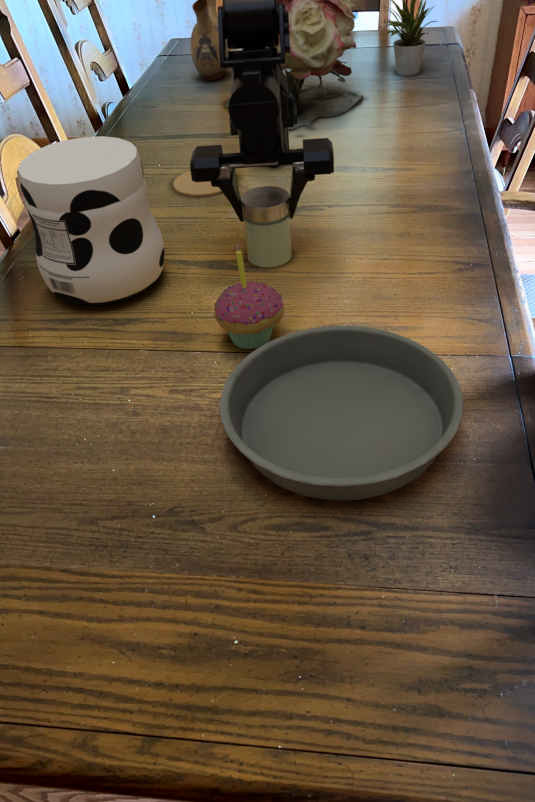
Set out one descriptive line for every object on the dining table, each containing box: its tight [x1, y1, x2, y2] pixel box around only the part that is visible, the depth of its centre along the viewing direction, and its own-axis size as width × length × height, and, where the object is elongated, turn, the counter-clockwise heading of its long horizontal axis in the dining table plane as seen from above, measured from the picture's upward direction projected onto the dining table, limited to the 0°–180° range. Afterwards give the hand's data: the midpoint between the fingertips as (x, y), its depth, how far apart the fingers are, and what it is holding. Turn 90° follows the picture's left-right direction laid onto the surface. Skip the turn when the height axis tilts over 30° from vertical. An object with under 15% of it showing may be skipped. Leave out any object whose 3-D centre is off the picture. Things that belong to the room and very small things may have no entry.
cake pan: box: [219, 325, 465, 501], centre depth 74 cm, size 25×25×4 cm
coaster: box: [172, 170, 223, 197], centre depth 125 cm, size 11×11×1 cm
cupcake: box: [213, 244, 285, 350], centre depth 85 cm, size 9×8×12 cm
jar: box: [243, 213, 293, 268], centre depth 101 cm, size 6×6×8 cm
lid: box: [240, 185, 290, 222], centre depth 99 cm, size 7×7×2 cm
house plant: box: [377, 0, 439, 76], centre depth 159 cm, size 14×14×16 cm
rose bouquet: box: [206, 0, 364, 130], centre depth 142 cm, size 26×29×30 cm
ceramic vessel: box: [189, 0, 231, 81], centre depth 162 cm, size 16×9×25 cm, turn 174°
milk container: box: [17, 135, 166, 306], centre depth 96 cm, size 17×17×18 cm
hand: (266, 219), depth 100 cm, fingers closed on lid, 6 cm apart
